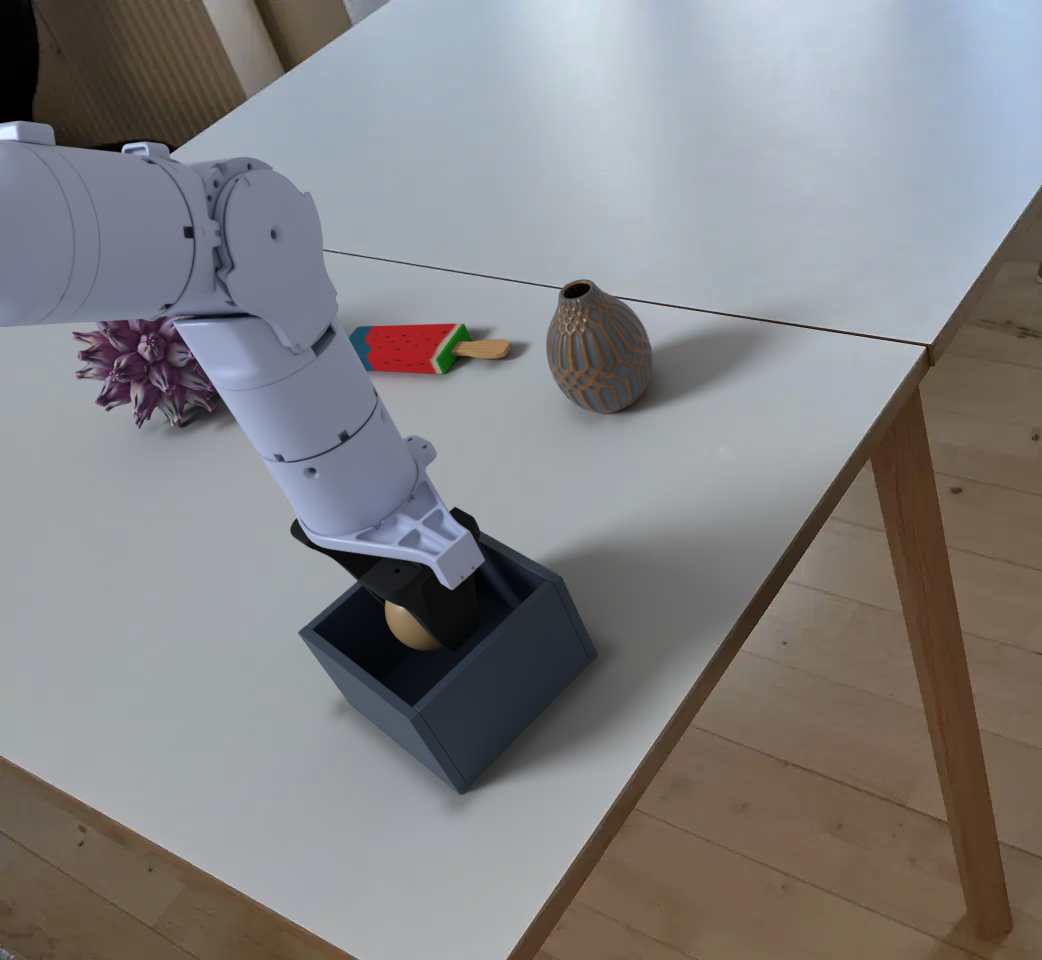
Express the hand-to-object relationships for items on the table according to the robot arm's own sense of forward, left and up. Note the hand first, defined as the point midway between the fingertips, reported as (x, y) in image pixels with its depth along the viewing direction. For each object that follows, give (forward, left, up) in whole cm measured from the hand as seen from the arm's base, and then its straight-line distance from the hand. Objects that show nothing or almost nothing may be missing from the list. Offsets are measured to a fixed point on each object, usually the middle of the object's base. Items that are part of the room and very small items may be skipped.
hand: (434, 617), depth 57 cm
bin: (0, 0, -5) cm, 5 cm away
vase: (+22, +10, -6) cm, 25 cm away
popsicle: (+19, +28, -6) cm, 34 cm away
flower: (+5, +43, -6) cm, 44 cm away
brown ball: (0, 0, -1) cm, 1 cm away
